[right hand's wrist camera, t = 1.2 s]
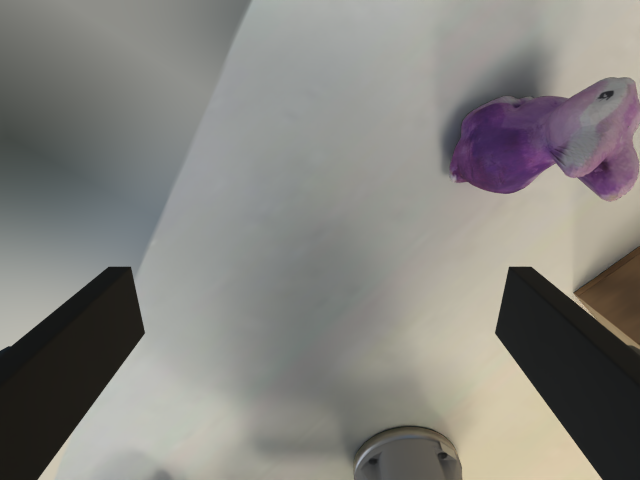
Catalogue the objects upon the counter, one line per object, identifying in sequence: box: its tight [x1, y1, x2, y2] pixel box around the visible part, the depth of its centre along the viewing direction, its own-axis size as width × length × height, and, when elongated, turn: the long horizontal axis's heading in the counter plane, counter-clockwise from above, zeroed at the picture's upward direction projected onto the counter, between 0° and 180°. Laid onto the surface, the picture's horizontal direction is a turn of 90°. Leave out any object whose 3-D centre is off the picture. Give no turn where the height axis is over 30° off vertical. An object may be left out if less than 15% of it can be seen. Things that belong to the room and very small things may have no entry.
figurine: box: [449, 77, 640, 202], centre depth 29 cm, size 9×10×15 cm
